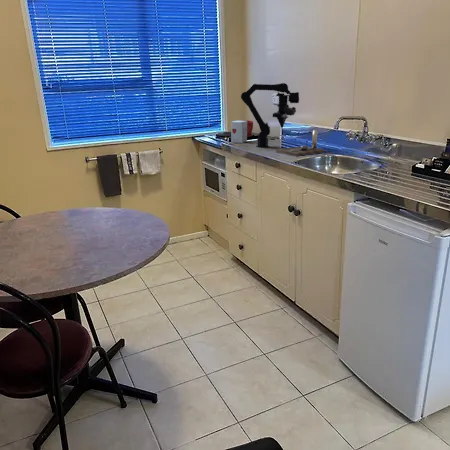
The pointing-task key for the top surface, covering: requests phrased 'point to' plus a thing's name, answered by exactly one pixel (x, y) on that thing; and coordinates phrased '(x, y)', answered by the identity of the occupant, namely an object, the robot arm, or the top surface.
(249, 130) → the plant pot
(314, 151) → the brown flat board
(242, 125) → the supplement box
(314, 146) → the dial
